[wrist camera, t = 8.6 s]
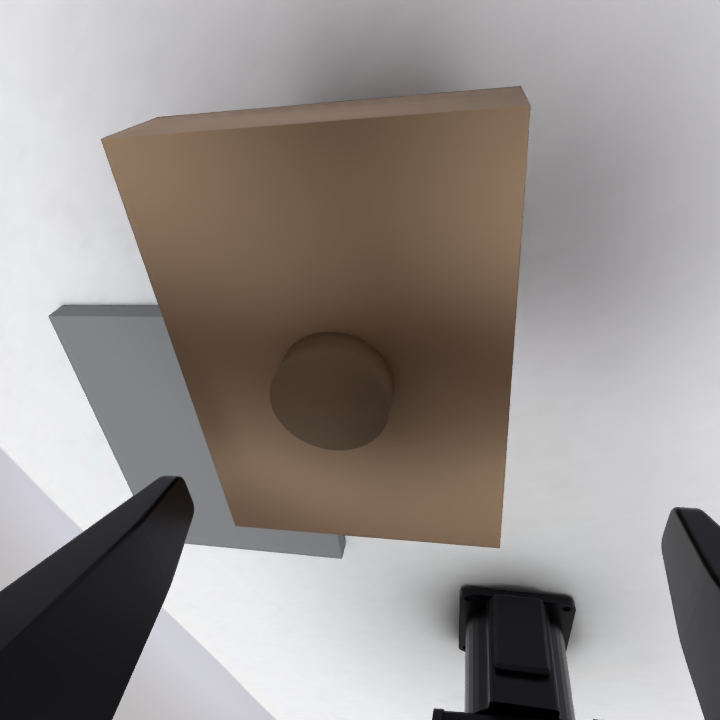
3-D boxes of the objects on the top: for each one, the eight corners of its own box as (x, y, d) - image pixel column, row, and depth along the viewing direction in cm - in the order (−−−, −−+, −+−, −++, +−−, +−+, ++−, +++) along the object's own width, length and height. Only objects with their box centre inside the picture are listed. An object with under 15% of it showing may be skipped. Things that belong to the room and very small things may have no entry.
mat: (345, 544, 32) (341, 558, 31) (162, 527, 34) (154, 540, 33) (305, 306, 23) (299, 317, 22) (62, 305, 25) (48, 316, 24)
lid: (497, 487, 15) (501, 577, 12) (259, 472, 16) (224, 550, 14) (520, 86, 9) (535, 115, 7) (157, 117, 11) (71, 150, 8)
